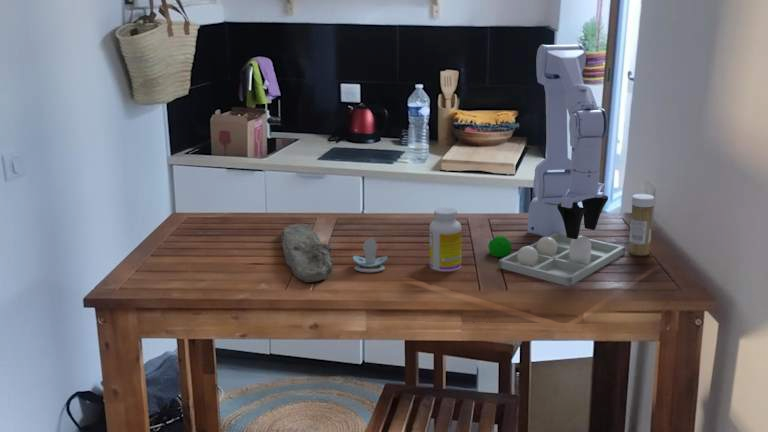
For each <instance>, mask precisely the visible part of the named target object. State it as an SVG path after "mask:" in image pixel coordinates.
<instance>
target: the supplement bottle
mask: <svg viewBox="0 0 768 432" xmlns="http://www.w3.org/2000/svg"><path fill="white" fill-rule="evenodd" d="M433 217H434V221H431V223H430V224H429V268H431V269H432V270H434V271H437V272H455V271H457V270H459V269H461V268H462V225H461V223H460V222H459V221H457V217H458V211H457V209H456V208H452V207H439V208H435V209H434V211H433Z"/></svg>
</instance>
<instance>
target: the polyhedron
mask: <svg viewBox="0 0 768 432" xmlns="http://www.w3.org/2000/svg"><path fill="white" fill-rule="evenodd" d="M488 250H489V254H490V255H491V256H492V257H495V258H504V257H507V256H509V255H511V254H512V250H513V247H512V242H511V241H510V240H509V239H508V238H507V237H505V236H504V235H497V236H495V237H494V238H493V239H491V240H489V243H488Z"/></svg>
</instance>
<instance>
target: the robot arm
mask: <svg viewBox="0 0 768 432" xmlns="http://www.w3.org/2000/svg"><path fill="white" fill-rule="evenodd" d="M536 52H537V53H536V59H535V60H536V62H535V63H536V65H535V66H536V68H535V69H536V78H537V83H538V84H541V85H542V86H544V93H545V116H546V117H545V122H546V123H545V131H546V132H545V134H546V135H545V136H546V139H545V140H546V158H544V159H543V160H542V161H541V162H539V163H538V164H537V165H536V166H535V169H534V177H533V192H534V196H535V197H533V198H532V200H531V201H530V203H529V206H528V214H527V215H528V217H527V218H528V220H527V233H529V234H533V235H538V236H541V237H542V238H543V237H548V236H550V235H552V234H554V233H556V232H560V233H565V234H566V235H567V238H571V239H577V238H578V236H579V235H580V230H581V224H582V220H583V224H584V229H586V230H592V231H595V230H596V228H597V225H598V222H599V219H600V216H601V213H602V210H603V209H604V207H605V206H606V204H607V202H608V200H609V196H608V195H605V186H606V184H605V183H600V175H601V173H600V172H601V157H602V141H603V139H604V138H605V137H606V135H607V133H608V132H607V131H608V116H607V113H606V112H607V111H606V110H605V109H604V108H602V107H601V106H598V105H597V102H596V99H595V97H594V94H593V91H592V88H591V87H589V86H588V85H586V84H585V83H584V77H583V71H584V69H585V67H586V62H587V53H586V48H585V46H584V45H583V44H582V43H577V44H540V45H539V47H538V48H537V51H536ZM568 115H569V120H568ZM568 121H569V122H568ZM568 132H569V145H570V147H571V156H570V158H569V155H568V154H569V153H568V151H569V150H568V147H569V146H568ZM558 170H559V171H558ZM561 170H564V171H561ZM579 203H581V204H582V207H581V206H580V205H579Z"/></svg>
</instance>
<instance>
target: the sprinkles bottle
mask: <svg viewBox="0 0 768 432" xmlns="http://www.w3.org/2000/svg"><path fill="white" fill-rule="evenodd" d="M654 206H655V197H654V195H651V194H648V193H636V194H633V195H632V197H631V216H630V225H629V226H630V227H629V228H630V229H629V240H628V241H629V242H628V243H629V244H628V253H629V254H631V255H633V256H648V255H649V254H650V250H651V249H650V248H651V247H650V246H651V241H652V223H653V210H654V209H653V208H654Z"/></svg>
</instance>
